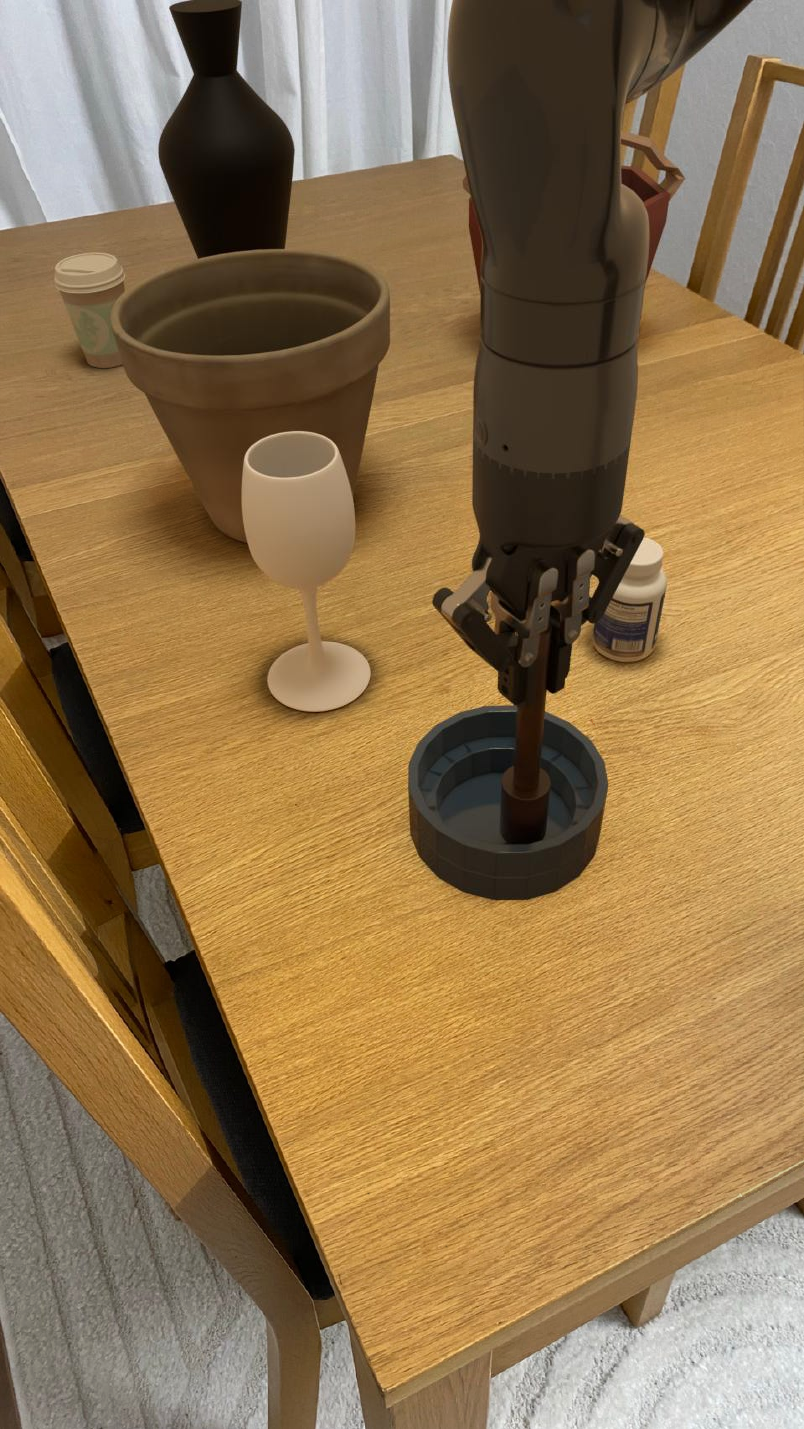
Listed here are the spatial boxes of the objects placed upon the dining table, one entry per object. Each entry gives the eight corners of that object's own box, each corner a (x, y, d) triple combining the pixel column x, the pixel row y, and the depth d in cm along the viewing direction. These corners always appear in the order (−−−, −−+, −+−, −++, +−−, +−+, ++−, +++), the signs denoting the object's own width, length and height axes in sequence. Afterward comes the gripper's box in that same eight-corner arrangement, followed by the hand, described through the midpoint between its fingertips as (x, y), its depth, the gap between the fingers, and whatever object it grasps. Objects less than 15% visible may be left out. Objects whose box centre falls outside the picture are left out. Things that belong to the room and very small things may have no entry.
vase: (200, 284, 146) (149, -6, 122) (315, 281, 145) (288, -11, 121) (176, 334, 134) (114, 23, 110) (302, 331, 133) (268, 17, 109)
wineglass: (390, 666, 84) (378, 443, 70) (329, 727, 79) (301, 501, 65) (310, 631, 88) (282, 412, 73) (246, 687, 83) (202, 465, 68)
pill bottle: (619, 615, 88) (634, 522, 81) (668, 644, 85) (686, 550, 78) (578, 642, 86) (589, 548, 79) (626, 673, 83) (642, 579, 76)
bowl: (638, 844, 70) (649, 788, 66) (489, 942, 65) (492, 887, 61) (515, 736, 78) (519, 679, 74) (374, 815, 73) (369, 759, 69)
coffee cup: (64, 358, 130) (37, 264, 121) (122, 338, 134) (99, 245, 125) (97, 379, 125) (71, 283, 117) (155, 358, 129) (134, 262, 121)
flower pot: (139, 474, 108) (88, 270, 93) (352, 427, 114) (337, 228, 99) (188, 604, 92) (135, 381, 76) (435, 541, 97) (432, 322, 82)
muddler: (555, 833, 68) (577, 630, 56) (519, 855, 67) (533, 653, 54) (525, 804, 70) (539, 602, 58) (490, 826, 69) (496, 624, 56)
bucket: (675, 329, 130) (709, 111, 112) (619, 403, 116) (648, 168, 98) (502, 300, 138) (509, 94, 121) (431, 366, 125) (427, 143, 107)
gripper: (488, 510, 42) (482, 781, 55) (711, 411, 48) (661, 678, 60) (388, 442, 47) (403, 706, 59) (602, 358, 52) (576, 617, 64)
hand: (533, 691), depth 59 cm, fingers closed on muddler
